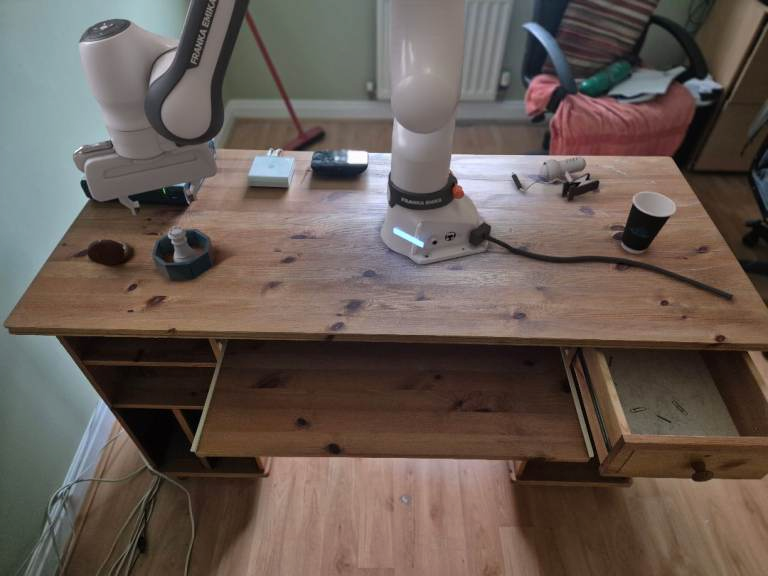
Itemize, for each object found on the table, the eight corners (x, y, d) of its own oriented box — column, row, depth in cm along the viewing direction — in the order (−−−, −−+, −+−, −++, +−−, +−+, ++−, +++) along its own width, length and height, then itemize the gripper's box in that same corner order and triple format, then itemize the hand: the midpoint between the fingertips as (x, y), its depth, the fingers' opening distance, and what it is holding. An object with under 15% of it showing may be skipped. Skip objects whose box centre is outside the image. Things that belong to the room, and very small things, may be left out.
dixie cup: (621, 259, 101) (642, 215, 93) (607, 234, 107) (626, 191, 99) (659, 258, 102) (683, 215, 94) (644, 233, 107) (665, 190, 99)
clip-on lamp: (521, 213, 116) (599, 196, 115) (522, 193, 111) (603, 175, 110) (507, 180, 123) (581, 164, 122) (508, 160, 118) (584, 143, 117)
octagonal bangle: (216, 243, 102) (212, 227, 99) (210, 278, 95) (205, 262, 92) (164, 246, 101) (158, 230, 98) (154, 281, 94) (148, 266, 91)
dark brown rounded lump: (131, 242, 102) (118, 213, 96) (130, 268, 96) (117, 239, 91) (89, 249, 100) (73, 221, 94) (85, 276, 94) (69, 247, 89)
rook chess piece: (203, 258, 99) (193, 226, 93) (188, 272, 96) (176, 240, 90) (185, 251, 100) (174, 219, 94) (170, 265, 97) (157, 233, 91)
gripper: (69, 158, 73) (104, 232, 83) (210, 131, 80) (226, 202, 90) (66, 138, 77) (100, 210, 87) (201, 114, 84) (218, 183, 94)
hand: (165, 206), depth 88 cm, fingers open, 8 cm apart
